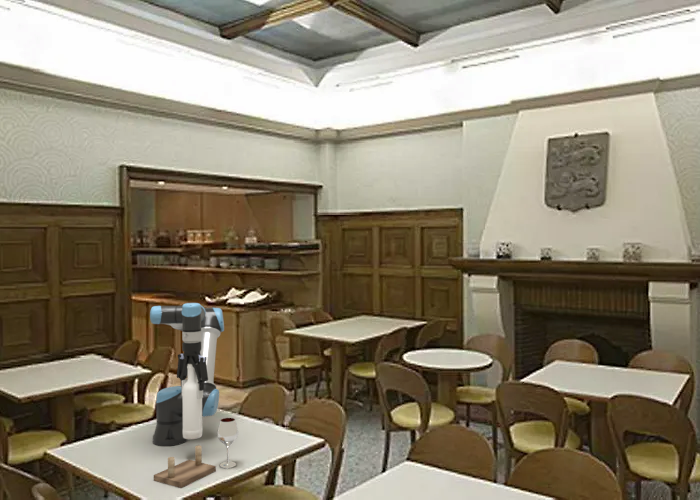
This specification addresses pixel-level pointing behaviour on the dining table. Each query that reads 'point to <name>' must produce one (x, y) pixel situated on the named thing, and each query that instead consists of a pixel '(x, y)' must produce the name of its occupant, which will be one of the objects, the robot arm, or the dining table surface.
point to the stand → (185, 471)
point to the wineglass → (227, 437)
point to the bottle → (191, 407)
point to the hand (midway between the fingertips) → (192, 396)
